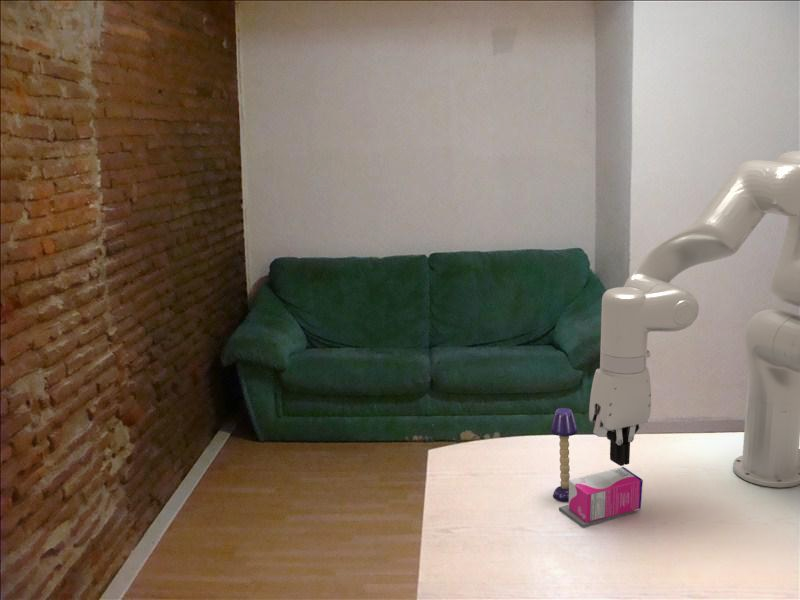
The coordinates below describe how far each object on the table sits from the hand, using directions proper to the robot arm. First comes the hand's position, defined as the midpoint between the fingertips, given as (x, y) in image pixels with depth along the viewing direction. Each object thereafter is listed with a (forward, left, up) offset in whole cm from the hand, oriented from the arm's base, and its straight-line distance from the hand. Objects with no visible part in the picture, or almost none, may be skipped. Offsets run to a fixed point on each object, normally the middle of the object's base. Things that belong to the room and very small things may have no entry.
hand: (619, 462), depth 150 cm
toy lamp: (+5, -9, -9) cm, 14 cm away
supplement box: (-3, 0, -6) cm, 7 cm away
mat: (+3, -1, -9) cm, 10 cm away
